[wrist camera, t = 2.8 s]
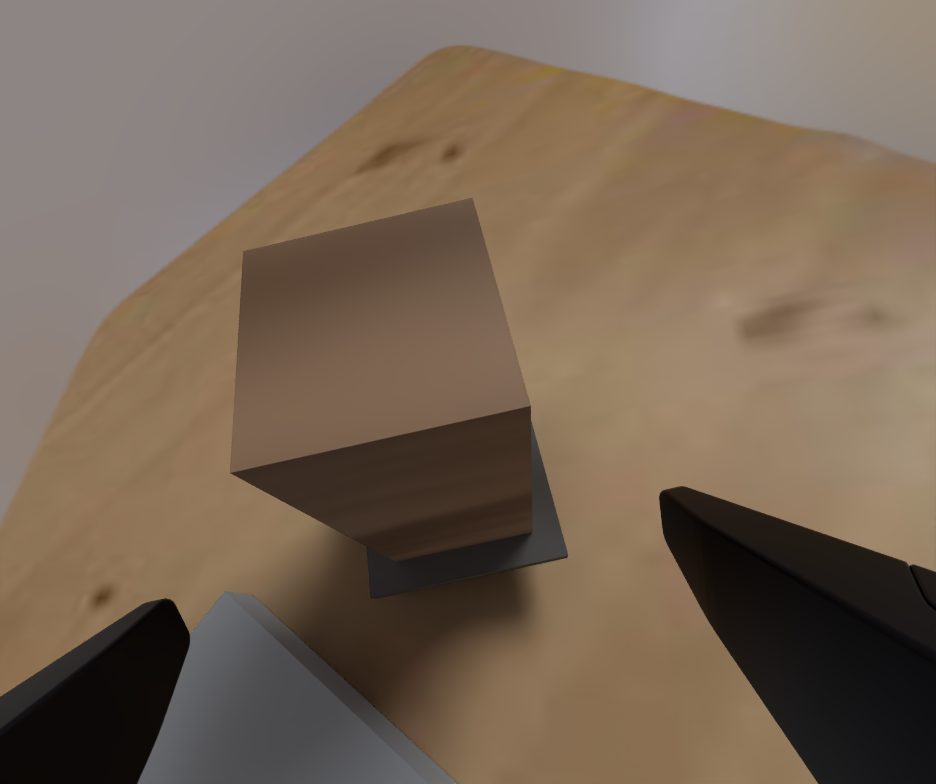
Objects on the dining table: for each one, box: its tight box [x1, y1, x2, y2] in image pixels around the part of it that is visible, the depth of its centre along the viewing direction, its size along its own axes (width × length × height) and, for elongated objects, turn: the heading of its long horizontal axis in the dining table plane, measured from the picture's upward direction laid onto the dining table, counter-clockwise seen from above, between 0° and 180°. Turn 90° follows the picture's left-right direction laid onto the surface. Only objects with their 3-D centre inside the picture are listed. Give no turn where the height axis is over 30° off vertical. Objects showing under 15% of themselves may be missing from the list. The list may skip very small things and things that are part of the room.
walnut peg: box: [230, 198, 568, 599], centre depth 15 cm, size 7×7×13 cm
